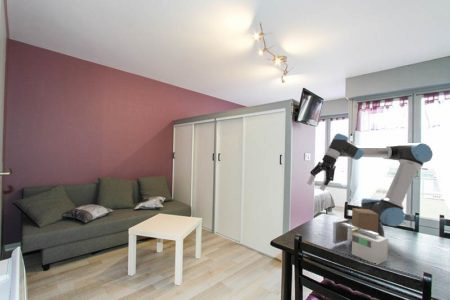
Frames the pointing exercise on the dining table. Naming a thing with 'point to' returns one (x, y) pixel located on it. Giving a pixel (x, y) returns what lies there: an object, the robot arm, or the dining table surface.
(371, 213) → the wooden block
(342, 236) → the gauge plunger
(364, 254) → the white box
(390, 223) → the robot arm
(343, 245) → the dining table surface
